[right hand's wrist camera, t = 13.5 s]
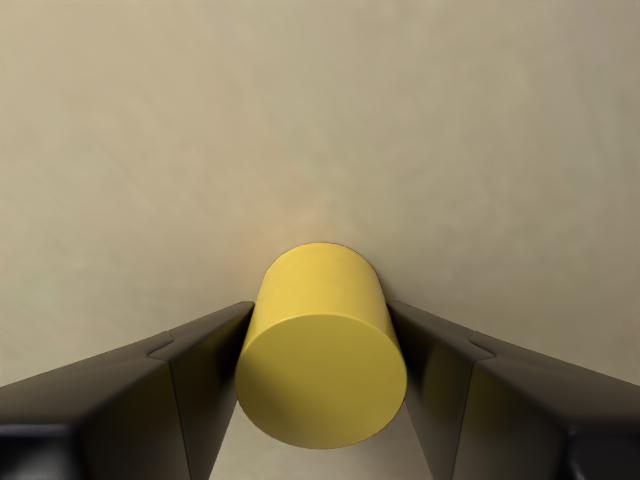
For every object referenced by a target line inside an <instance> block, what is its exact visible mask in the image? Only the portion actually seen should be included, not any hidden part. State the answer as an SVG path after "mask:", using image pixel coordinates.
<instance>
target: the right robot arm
mask: <svg viewBox="0 0 640 480" xmlns="http://www.w3.org/2000/svg"><path fill="white" fill-rule="evenodd" d="M386 305H387V308H388V311H389V314H390V317H391V320H392V324H393V327H394V330H395V333H396V336H397V339H398V342H399V346H400V349H401V352H402V355H403V358H404V361H405V365H406V368H407V375H408V386H407V391H406V396H405V399H404V400H405V403H406V406H407V409H408V411H409V414H410V417H411V420H412V422H413V425H414V428H415V430H416V433H417V436H418V439H419V441H420V444H421V447H422V450H423V452H424V455H425V458H426V460H427V463H428V466H429V469H430V471H431V474H432V477H433V480H640V386H638V385H634V384H631V383H628V382H625V381H622V380H619V379H616V378H613V377H610V376H607V375H604V374H601V373H598V372H595V371H592V370H589V369H586V368H583V367H580V366H577V365H574V364H571V363H568V362H565V361H561V360H558V359H555V358H552V357H549V356H546V355H543V354H540V353H537V352H534V351H531V350H528V349H525V348H522V347H519V346H516V345H513V344H510V343H507V342H504V341H501V340H499V339H496V338H493V337H491V336H488V335H485V334H483V333H480V332H477V331H475V332H474V330H471V329H469V328H466V327H463V326H461V325H458V324H456V323H453V322H451V321H448V320H445V319H443V318H440V317H438V316H435V315H433V314H430V313H428V312H425V311H422V310H420V309H417V308H415V307H412V306H410V305H407V304H405V303H402V302H399V301H388V302H387V304H386ZM254 307H255V303H254V302H253V301H243V302H240V303H237V304H235V305H232V306H229V307H227V308H224V309H222V310H219V311H217V312H214V313H212V314H209V315H207V316H204V317H202V318H199V319H196V320H194V321H191V322H189V323H186V324H184V325H181V326H179V327H176V328H174V329H171V330H169V331H165V332H162V333H160V334H157V335H154V336H152V337H149V338H146V339H144V340H141V341H138V342H135V343H132V344H129V345H127V346H124V347H121V348H118V349H115V350H112V351H109V352H105V353H102V354H99V355H96V356H93V357H90V358H87V359H84V360H81V361H78V362H75V363H72V364H69V365H66V366H63V367H60V368H57V369H54V370H51V371H48V372H45V373H42V374H39V375H36V376H33V377H30V378H27V379H24V380H21V381H18V382H15V383H12V384H9V385H6V386H3V387H0V480H209V477H210V474H211V472H212V469H213V466H214V463H215V461H216V458H217V455H218V452H219V450H220V447H221V444H222V441H223V439H224V436H225V433H226V430H227V428H228V425H229V422H230V419H231V417H232V414H233V411H234V408H235V405H236V403H237V400H238V398H237V395H236V390H235V370H236V365H237V362H238V359H239V356H240V352H241V349H242V346H243V343H244V340H245V336H246V333H247V330H248V327H249V323H250V320H251V317H252V314H253V310H254Z"/></svg>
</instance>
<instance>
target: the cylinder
mask: <svg viewBox="0 0 640 480" xmlns="http://www.w3.org/2000/svg"><path fill="white" fill-rule="evenodd" d="M407 386H408V375H407V368H406V365H405V361H404V358H403V355H402V352H401V349H400V346H399V342H398V339H397V336H396V333H395V330H394V327H393V324H392V320H391V317H390V314H389V311H388V308H387V305H386V302H385V299H384V295H383V292H382V289H381V286H380V283H379V280H378V277H377V275H376V273H375V271H374V270H373V268H372V267H371V265H370V264H369V263H368V262H367V261H366V260H365V259H364V258H363V257H362V256H360V255H359V254H358V253H356V252H354V251H353V250H351V249H349V248H346V247H344V246H341V245H337V244H332V243H310V244H304V245H301V246H298V247H295V248H293V249H291V250H289V251H287V252H286V253H284V254H282V255H281V256H280V257H279V258H278V259H276V260H275V262H274V263H273V264H272V265H271V266H270V268H269V269H268V270H267V272H266V274H265V276H264V278H263V282H262V285H261V288H260V291H259V294H258V298H257V301H256V304H255V307H254V310H253V314H252V317H251V320H250V323H249V327H248V330H247V333H246V336H245V340H244V343H243V346H242V349H241V352H240V356H239V359H238V362H237V365H236V370H235V390H236V395H237V398H238V401H239V404H240V405H241V407H242V409H243V411H244V413H245V414H246V415H247V417H248V418H249V419H250V420H251V421H252V422H253V423H254V424H255V426H257V427H258V428H259V429H260V430H262V431H263V432H264V433H266V434H268V435H269V436H271V437H273V438H275V439H277V440H279V441H281V442H284V443H287V444H289V445H293V446H297V447H302V448H309V449H333V448H340V447H345V446H349V445H353V444H355V443H358V442H361V441H363V440H365V439H367V438H370V437H371V436H373V435H375V434H376V433H378V432H379V431H380V430H382V429H383V428H384V427H386V426H387V425H388V424H389V423H390V422H391V421H392V419H393V418H394V417H395V416H396V414H397V413H398V411H399V409H400V408H401V406H402V404H403V401H404V399H405V396H406V391H407Z"/></svg>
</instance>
